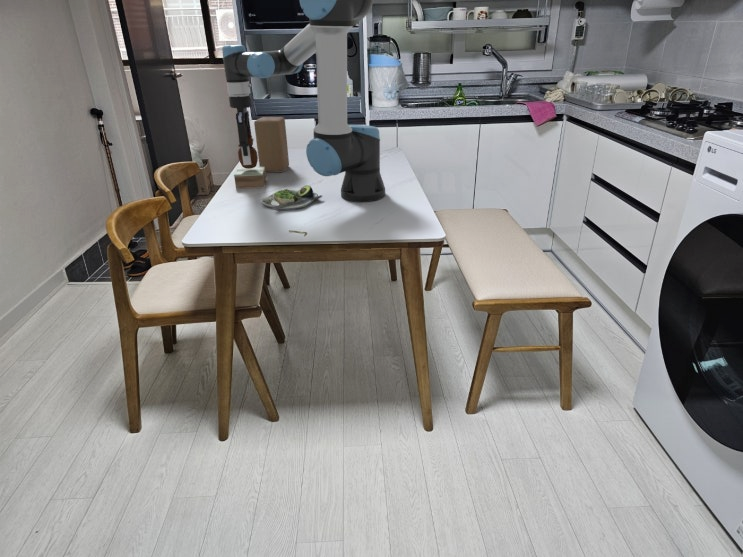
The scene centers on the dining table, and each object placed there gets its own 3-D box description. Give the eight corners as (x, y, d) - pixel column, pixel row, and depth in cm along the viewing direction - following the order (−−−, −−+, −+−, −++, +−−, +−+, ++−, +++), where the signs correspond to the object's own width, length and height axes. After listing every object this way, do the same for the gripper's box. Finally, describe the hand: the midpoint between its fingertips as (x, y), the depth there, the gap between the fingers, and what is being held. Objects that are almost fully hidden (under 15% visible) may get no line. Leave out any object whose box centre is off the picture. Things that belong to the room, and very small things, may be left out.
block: (289, 166, 202) (285, 116, 193) (283, 172, 193) (278, 120, 184) (266, 166, 203) (260, 116, 194) (259, 172, 194) (252, 120, 185)
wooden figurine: (237, 168, 176) (230, 125, 169) (247, 164, 181) (241, 123, 174) (251, 170, 173) (245, 127, 166) (261, 166, 178) (256, 124, 171)
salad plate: (296, 217, 148) (295, 202, 146) (249, 210, 155) (247, 196, 153) (327, 198, 164) (326, 185, 162) (283, 192, 171) (281, 180, 168)
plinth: (263, 187, 176) (262, 173, 174) (236, 188, 175) (233, 174, 173) (266, 179, 185) (265, 166, 182) (240, 180, 184) (238, 167, 182)
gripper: (247, 98, 157) (256, 168, 168) (254, 91, 175) (262, 155, 185) (223, 99, 157) (234, 169, 167) (233, 92, 174) (242, 156, 185)
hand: (248, 162), depth 176 cm, fingers closed on wooden figurine, 7 cm apart
